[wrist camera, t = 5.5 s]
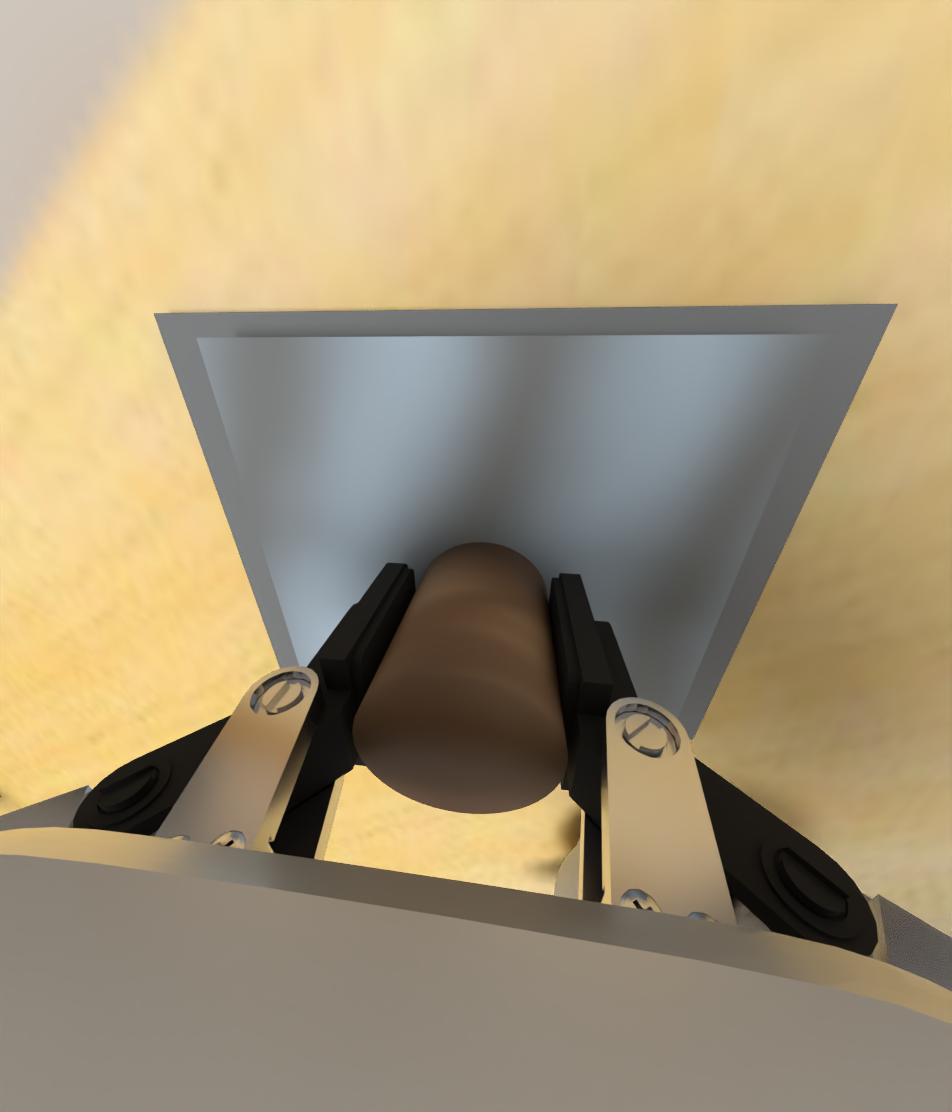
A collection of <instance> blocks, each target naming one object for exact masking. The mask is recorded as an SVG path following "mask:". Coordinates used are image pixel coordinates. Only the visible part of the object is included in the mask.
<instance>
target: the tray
mask: <svg viewBox="0 0 952 1112" xmlns="http://www.w3.org/2000/svg"><path fill="white" fill-rule="evenodd" d="M897 305H898V304H849V305H771V306H693V307H616V308H538V309H460V310H383V311H305V312H228V313H154V316H155V319H156V321H157V324H158V327H159V330H160V333H161V335H162V338H163V341H164V344H165V347H166V349H167V352H168V355H169V358H170V361H171V363H172V366H173V369H174V372H175V375H176V377H177V380H178V383H179V386H180V389H181V391H182V394H183V397H184V400H185V403H186V405H187V408H188V411H189V414H190V417H191V420H192V422H193V425H194V428H195V431H196V434H197V436H198V439H199V442H200V445H201V448H202V450H203V453H204V456H205V459H206V462H207V464H208V467H209V470H210V473H211V476H212V478H213V481H214V484H215V487H216V490H217V492H218V495H219V498H220V501H221V504H222V506H223V509H224V512H225V515H226V518H227V521H228V523H229V526H230V529H231V532H232V535H233V537H234V540H235V543H236V546H237V549H238V551H239V554H240V557H241V560H242V563H243V565H244V568H245V571H246V574H247V577H248V579H249V582H250V585H251V588H252V591H253V593H254V596H255V599H256V602H257V605H258V608H259V610H260V613H261V616H262V619H263V622H264V624H265V627H266V630H267V633H268V636H269V638H270V641H271V644H272V647H273V650H274V652H275V655H276V658H277V661H278V664H279V666H280V669H282V668H285V667H291V666H299V663H298V660H297V657H296V654H295V651H294V647H293V644H292V641H291V638H290V635H289V632H288V628H287V625H286V622H285V619H284V616H283V612H282V609H281V606H280V603H279V600H278V596H277V593H276V590H275V587H274V584H273V581H272V577H271V574H270V571H269V568H268V565H267V561H266V558H265V555H264V552H263V549H262V545H261V542H260V539H259V536H258V533H257V530H256V526H255V523H254V520H253V517H252V514H251V510H250V507H249V504H248V501H247V498H246V494H245V491H244V488H243V485H242V482H241V479H240V475H239V472H238V469H237V466H236V463H235V459H234V456H233V453H232V450H231V447H230V443H229V440H228V437H227V434H226V431H225V428H224V424H223V421H222V418H221V415H220V412H219V408H218V405H217V402H216V399H215V396H214V392H213V389H212V386H211V383H210V380H209V377H208V373H207V370H206V367H205V364H204V361H203V357H202V354H201V351H200V348H199V345H198V341H197V338H235V337H411V336H588V335H765V334H836V337H835V339H834V342H833V344H832V347H831V349H830V351H829V354H828V356H827V359H826V361H825V363H824V366H823V368H822V371H821V373H820V376H819V378H818V380H817V383H816V385H815V388H814V390H813V392H812V395H811V397H810V400H809V402H808V405H807V407H806V409H805V412H804V414H803V417H802V419H801V422H800V424H799V426H798V429H797V431H796V434H795V436H794V438H793V441H792V443H791V446H790V448H789V451H788V453H787V455H786V458H785V460H784V463H783V465H782V467H781V470H780V472H779V475H778V477H777V480H776V482H775V484H774V487H773V489H772V492H771V494H770V496H769V499H768V501H767V504H766V506H765V509H764V511H763V513H762V516H761V518H760V521H759V523H758V525H757V528H756V530H755V533H754V535H753V538H752V540H751V542H750V545H749V547H748V550H747V552H746V555H745V557H744V559H743V562H742V564H741V567H740V569H739V571H738V574H737V576H736V579H735V581H734V584H733V586H732V588H731V591H730V593H729V596H728V598H727V600H726V603H725V605H724V608H723V610H722V613H721V615H720V617H719V620H718V622H717V625H716V627H715V629H714V632H713V634H712V637H711V639H710V642H709V644H708V646H707V649H706V651H705V654H704V656H703V658H702V661H701V663H700V666H699V668H698V671H697V673H696V675H695V678H694V680H693V683H692V685H691V688H690V690H689V692H688V695H687V697H686V700H685V702H684V704H683V707H682V709H681V712H680V714H679V717H678V720H679V722H680V723H681V724H682V726H683V727H684V728H685V730H686V732H687V735H688V737H689V739H693V738H694V736H695V734H696V732H697V730H698V728H699V725H700V723H701V721H702V719H703V717H704V715H705V713H706V711H707V708H708V706H709V704H710V702H711V700H712V698H713V696H714V694H715V691H716V689H717V687H718V685H719V683H720V681H721V679H722V677H723V674H724V672H725V670H726V668H727V666H728V664H729V662H730V660H731V657H732V655H733V653H734V651H735V649H736V647H737V645H738V643H739V640H740V638H741V636H742V634H743V632H744V630H745V628H746V626H747V623H748V621H749V619H750V617H751V615H752V613H753V611H754V609H755V606H756V604H757V602H758V600H759V598H760V596H761V594H762V592H763V589H764V587H765V585H766V583H767V581H768V579H769V577H770V575H771V572H772V570H773V568H774V566H775V564H776V562H777V560H778V558H779V555H780V553H781V551H782V549H783V547H784V545H785V543H786V541H787V538H788V536H789V534H790V532H791V530H792V528H793V526H794V524H795V521H796V519H797V517H798V515H799V513H800V511H801V509H802V507H803V504H804V502H805V500H806V498H807V496H808V494H809V492H810V490H811V487H812V485H813V483H814V481H815V479H816V477H817V475H818V473H819V470H820V468H821V466H822V464H823V462H824V460H825V458H826V456H827V453H828V451H829V449H830V447H831V445H832V443H833V441H834V439H835V436H836V434H837V432H838V430H839V428H840V426H841V424H842V422H843V419H844V417H845V415H846V413H847V411H848V409H849V407H850V405H851V402H852V400H853V398H854V396H855V394H856V392H857V390H858V388H859V385H860V383H861V381H862V379H863V377H864V375H865V373H866V371H867V369H868V366H869V364H870V362H871V360H872V358H873V356H874V354H875V352H876V349H877V347H878V345H879V343H880V341H881V339H882V337H883V335H884V332H885V330H886V328H887V326H888V324H889V322H890V320H891V318H892V315H893V313H894V311H895V309H896V307H897Z"/></svg>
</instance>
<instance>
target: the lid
mask: <svg viewBox="0 0 952 1112" xmlns="http://www.w3.org/2000/svg"><path fill="white" fill-rule="evenodd" d="M835 337H836V334H765V335H588V336H411V337H235V338H197V341H198V345H199V348H200V351H201V354H202V357H203V361H204V364H205V367H206V370H207V373H208V377H209V380H210V383H211V386H212V389H213V392H214V396H215V399H216V402H217V405H218V408H219V412H220V415H221V418H222V421H223V424H224V428H225V431H226V434H227V437H228V440H229V443H230V447H231V450H232V453H233V456H234V459H235V463H236V466H237V469H238V472H239V475H240V479H241V482H242V485H243V488H244V491H245V494H246V498H247V501H248V504H249V507H250V510H251V514H252V517H253V520H254V523H255V526H256V530H257V533H258V536H259V539H260V542H261V545H262V549H263V552H264V555H265V558H266V561H267V565H268V568H269V571H270V574H271V577H272V581H273V584H274V587H275V590H276V593H277V596H278V600H279V603H280V606H281V609H282V612H283V616H284V619H285V622H286V625H287V628H288V632H289V635H290V638H291V641H292V644H293V647H294V651H295V654H296V657H297V660H298V663H299V666H303V667H307V666H308V664H309V663H310V662H311V660H312V659H313V657H314V656H315V655H316V653H317V652H318V651H319V649H320V648H321V647H322V645H323V644H324V643H325V641H326V640H327V639H328V637H329V636H330V634H331V633H332V632H333V630H334V629H335V628H336V626H337V625H338V624H339V622H340V621H341V620H342V618H343V617H344V615H345V614H346V613H347V611H348V610H349V609H350V607H351V606H352V605H353V604H356V603H358V602H359V601H360V599H361V598H362V596H363V595H364V594H365V592H366V591H367V590H368V588H369V587H370V585H371V584H372V583H373V581H374V580H375V578H376V577H377V576H378V574H379V573H380V571H381V570H382V569H383V567H384V566H385V565H386V563H404V564H407V566H408V569H413V570H414V576H415V587H416V592H415V594H414V596H413V598H412V600H411V602H410V604H409V606H408V608H407V610H406V612H405V614H404V616H403V619H402V621H401V623H400V625H399V627H398V629H397V631H396V633H395V635H394V637H393V639H392V641H391V643H390V645H389V647H388V649H387V651H386V653H385V655H384V657H383V660H382V662H381V664H380V666H379V668H378V670H377V672H376V674H375V676H374V678H373V680H372V682H371V684H370V686H369V688H368V690H367V692H366V694H365V696H364V699H363V701H362V703H361V705H360V707H359V709H358V711H357V713H356V715H355V718H354V722H353V730H352V734H353V741H354V744H355V747H356V750H357V752H358V754H359V756H360V758H361V760H362V761H363V762H364V764H365V765H366V766H367V768H368V769H369V770H370V771H371V772H372V773H373V774H374V775H375V776H376V777H377V778H378V779H380V780H381V781H382V782H383V783H385V784H386V785H387V786H389V787H390V788H392V789H393V790H395V791H397V792H398V793H400V794H402V795H404V796H406V797H408V798H410V799H412V800H415V801H417V802H420V803H422V804H425V805H429V806H432V807H435V808H439V809H443V810H448V811H454V812H460V813H470V814H490V813H501V812H507V811H512V810H516V809H520V808H523V807H526V806H529V805H531V804H533V803H535V802H537V801H539V800H541V799H542V798H544V797H546V796H547V795H548V794H549V793H551V792H552V791H553V790H554V789H555V788H556V787H557V786H558V784H559V783H560V782H561V780H562V778H563V777H564V775H565V772H566V769H567V763H568V752H567V744H566V736H565V728H564V720H563V713H562V705H561V697H560V689H559V681H558V673H557V665H556V658H555V650H554V642H553V634H552V626H551V618H550V611H549V596H550V588H551V580H552V577H553V578H559V574H560V573H569V574H580V575H581V578H582V581H583V585H584V588H585V591H586V594H587V598H588V601H589V604H590V608H591V611H592V614H593V617H594V621H606V622H609V623H610V624H611V626H612V629H613V632H614V634H615V637H616V640H617V642H618V645H619V648H620V651H621V653H622V656H623V659H624V662H625V664H626V667H627V670H628V672H629V675H630V678H631V681H632V683H633V686H634V689H635V691H636V694H637V697H638V698H643V699H645V700H648V701H651V702H654V703H656V704H658V705H660V706H661V707H663V708H665V709H666V710H668V711H669V712H670V713H671V714H672V715H674V716H675V717H676V718H677V719H678V717H679V714H680V712H681V709H682V707H683V704H684V702H685V700H686V697H687V695H688V692H689V690H690V688H691V685H692V683H693V680H694V678H695V675H696V673H697V671H698V668H699V666H700V663H701V661H702V658H703V656H704V654H705V651H706V649H707V646H708V644H709V642H710V639H711V637H712V634H713V632H714V629H715V627H716V625H717V622H718V620H719V617H720V615H721V613H722V610H723V608H724V605H725V603H726V600H727V598H728V596H729V593H730V591H731V588H732V586H733V584H734V581H735V579H736V576H737V574H738V571H739V569H740V567H741V564H742V562H743V559H744V557H745V555H746V552H747V550H748V547H749V545H750V542H751V540H752V538H753V535H754V533H755V530H756V528H757V525H758V523H759V521H760V518H761V516H762V513H763V511H764V509H765V506H766V504H767V501H768V499H769V496H770V494H771V492H772V489H773V487H774V484H775V482H776V480H777V477H778V475H779V472H780V470H781V467H782V465H783V463H784V460H785V458H786V455H787V453H788V451H789V448H790V446H791V443H792V441H793V438H794V436H795V434H796V431H797V429H798V426H799V424H800V422H801V419H802V417H803V414H804V412H805V409H806V407H807V405H808V402H809V400H810V397H811V395H812V392H813V390H814V388H815V385H816V383H817V380H818V378H819V376H820V373H821V371H822V368H823V366H824V363H825V361H826V359H827V356H828V354H829V351H830V349H831V347H832V344H833V342H834V339H835Z"/></svg>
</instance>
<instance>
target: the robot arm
mask: <svg viewBox="0 0 952 1112" xmlns="http://www.w3.org/2000/svg"><path fill="white" fill-rule="evenodd" d="M415 592H416V587H415V576H414V570H413V569H408V566H407V564H404V563H386V565H385V566H384V567H383V569H382V570H381V571H380V573H379V574H378V576H377V577H376V578H375V580H374V581H373V583H372V584H371V585H370V587H369V588H368V590H367V591H366V592H365V594H364V595H363V596H362V598H361V599H360V601H359V602H358V603H356V604H353V605H352V606H351V607H350V609H349V610H348V611H347V613H346V614H345V615H344V617H343V618H342V620H341V621H340V622H339V624H338V625H337V626H336V628H335V629H334V630H333V632H332V633H331V634H330V636H329V637H328V639H327V640H326V641H325V643H324V644H323V645H322V647H321V648H320V649H319V651H318V652H317V653H316V655H315V656H314V657H313V659H312V660H311V662H310V663H309V664H308V666H307V667H303V666H291V667H285V668H282V669H279V670H276V671H273V672H271V673H269V674H267V675H266V676H264V677H262V678H261V679H259V680H258V681H257V682H256V683H254V684H253V685H252V686H251V687H250V689H249V690H248V691H247V692H246V693H245V695H244V696H243V698H242V700H241V701H240V703H239V704H238V706H237V707H236V709H235V710H234V712H233V714H232V715H230V716H228V717H226V718H224V719H222V720H219V721H217V722H215V723H213V724H211V725H208V726H206V727H204V728H202V729H200V730H198V731H195V732H193V733H191V734H189V735H187V736H185V737H182V738H180V739H178V740H176V741H174V742H171V743H169V744H167V745H165V746H163V747H161V748H158V749H156V750H154V751H152V752H150V753H147V754H145V755H143V756H141V757H139V758H137V759H134V760H133V761H131V762H129V763H127V764H125V765H123V766H122V767H120V768H118V769H117V770H115V771H114V772H113V773H111V774H110V775H108V776H107V777H106V778H104V779H103V780H102V781H101V782H100V783H99V784H98V785H97V786H96V787H95V788H94V789H93V790H92V789H91V788H90V787H89V786H88V785H87V786H84V787H82V788H79V789H76V790H73V791H70V792H67V793H64V794H62V795H59V796H56V797H53V798H50V799H47V800H45V801H42V802H39V803H36V804H33V805H30V806H27V807H25V808H22V809H19V810H16V811H13V812H10V813H8V814H5V815H2V816H0V1112H952V938H950V937H949V936H947V935H945V934H944V933H942V932H940V931H939V930H937V929H935V928H934V927H932V926H930V925H929V924H927V923H925V922H924V921H922V920H920V919H919V918H917V917H915V916H914V915H912V914H910V913H909V912H907V911H905V910H904V909H902V908H900V907H899V906H897V905H895V904H894V903H892V902H890V901H889V900H887V899H885V898H884V897H882V896H880V895H879V894H878V895H877V896H876V897H874V898H873V899H871V898H869V897H868V896H866V895H864V894H863V893H861V891H860V890H859V888H858V887H857V885H856V884H855V882H854V881H853V880H852V879H851V878H850V877H849V875H848V874H847V873H846V872H845V871H844V870H843V869H842V868H841V867H840V866H839V864H838V863H837V862H836V861H834V860H833V859H832V858H831V857H830V856H828V855H827V854H826V853H825V852H824V851H822V850H821V849H820V848H819V847H818V846H816V845H815V844H813V843H812V842H811V841H809V840H808V839H807V838H805V837H804V836H802V835H801V834H800V833H798V832H797V831H795V830H794V829H793V828H791V827H790V826H789V825H787V824H786V823H784V822H783V821H782V820H780V819H779V818H778V817H776V816H775V815H773V814H772V813H771V812H769V811H768V810H766V809H765V808H764V807H762V806H761V805H760V804H758V803H757V802H755V801H754V800H753V799H751V798H750V797H749V796H747V795H746V794H744V793H743V792H742V791H740V790H739V789H737V788H736V787H735V786H733V785H732V784H731V783H729V782H728V781H726V780H725V779H724V778H722V777H721V776H720V775H718V774H717V773H715V772H714V771H713V770H711V769H710V768H709V767H707V766H706V765H704V764H703V763H702V762H700V761H699V760H697V759H696V758H695V757H694V755H693V751H692V747H691V743H690V739H689V737H688V735H687V732H686V730H685V728H684V727H683V726H682V724H681V723H680V722H679V720H678V719H677V718H676V717H675V716H674V715H672V714H671V713H670V712H669V711H668V710H666V709H665V708H663V707H661V706H660V705H658V704H656V703H654V702H651V701H648V700H645V699H643V698H638V697H637V694H636V691H635V689H634V686H633V683H632V681H631V678H630V675H629V672H628V670H627V667H626V664H625V662H624V659H623V656H622V653H621V651H620V648H619V645H618V642H617V640H616V637H615V634H614V632H613V629H612V626H611V624H610V623H609V622H606V621H594V617H593V614H592V611H591V608H590V604H589V601H588V598H587V594H586V591H585V588H584V585H583V581H582V578H581V575H580V574H569V573H560V574H559V578H553V577H552V580H551V588H550V596H549V611H550V618H551V626H552V634H553V642H554V650H555V658H556V665H557V673H558V681H559V689H560V697H561V705H562V713H563V720H564V728H565V736H566V744H567V752H568V763H567V769H566V772H565V775H564V777H563V778H562V780H561V790H569V796H570V797H571V798H572V799H573V800H574V801H575V802H576V803H577V804H578V805H579V806H580V808H581V833H580V862H579V891H578V899H572V898H566V897H559V896H553V895H547V894H540V893H534V892H527V891H521V890H515V889H508V888H502V887H496V886H489V885H482V884H476V883H469V882H463V881H456V880H449V879H443V878H436V877H430V876H423V875H416V874H410V873H403V872H397V871H390V870H383V869H377V868H370V867H363V866H357V865H350V864H343V863H337V862H330V861H323V860H324V856H325V852H326V848H327V844H328V840H329V836H330V832H331V829H332V825H333V821H334V817H335V813H336V809H337V805H338V801H339V797H340V793H341V789H342V785H343V781H344V775H345V774H346V773H348V772H349V771H351V770H352V769H353V767H354V765H363V766H366V765H365V764H364V762H363V761H362V760H361V758H360V756H359V754H358V752H357V750H356V747H355V744H354V741H353V734H352V730H353V722H354V718H355V715H356V713H357V711H358V709H359V707H360V705H361V703H362V701H363V699H364V696H365V694H366V692H367V690H368V688H369V686H370V684H371V682H372V680H373V678H374V676H375V674H376V672H377V670H378V668H379V666H380V664H381V662H382V660H383V657H384V655H385V653H386V651H387V649H388V647H389V645H390V643H391V641H392V639H393V637H394V635H395V633H396V631H397V629H398V627H399V625H400V623H401V621H402V619H403V616H404V614H405V612H406V610H407V608H408V606H409V604H410V602H411V600H412V598H413V596H414V594H415Z"/></svg>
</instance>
